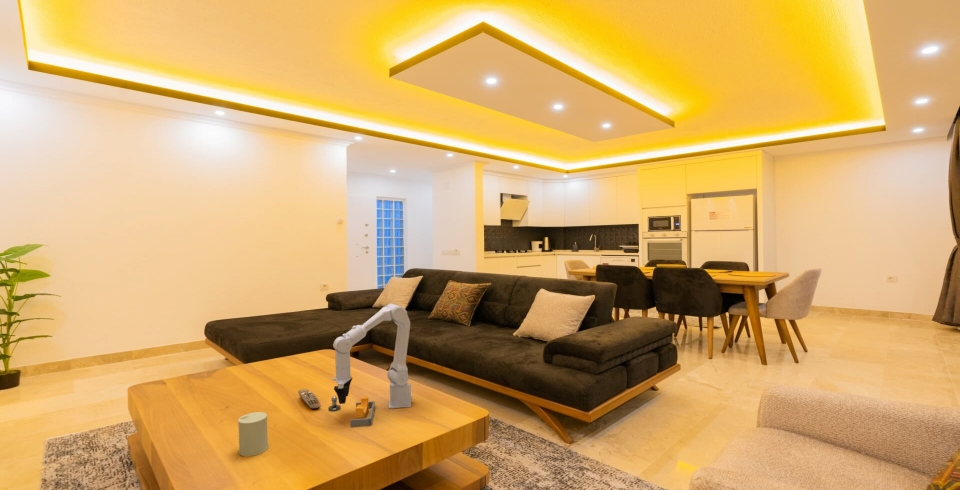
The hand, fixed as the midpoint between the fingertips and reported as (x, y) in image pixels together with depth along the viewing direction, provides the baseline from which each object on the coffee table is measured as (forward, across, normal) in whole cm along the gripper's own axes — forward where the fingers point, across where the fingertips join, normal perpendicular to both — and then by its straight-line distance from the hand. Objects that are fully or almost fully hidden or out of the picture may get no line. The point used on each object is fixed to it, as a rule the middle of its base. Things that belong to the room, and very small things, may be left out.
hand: (343, 399), depth 178 cm
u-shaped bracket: (+8, 0, +7) cm, 10 cm away
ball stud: (+8, -10, -6) cm, 14 cm away
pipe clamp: (+8, +1, +6) cm, 10 cm away
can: (+8, +21, -28) cm, 36 cm away
